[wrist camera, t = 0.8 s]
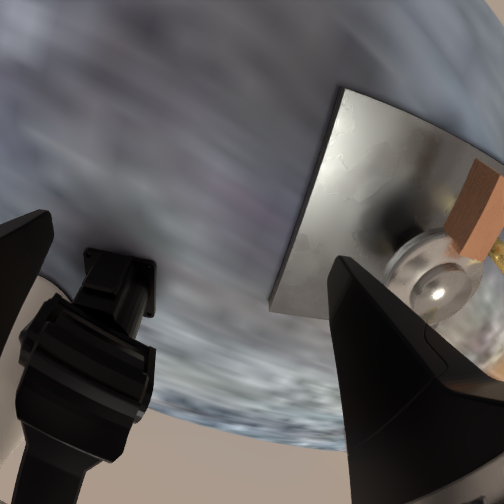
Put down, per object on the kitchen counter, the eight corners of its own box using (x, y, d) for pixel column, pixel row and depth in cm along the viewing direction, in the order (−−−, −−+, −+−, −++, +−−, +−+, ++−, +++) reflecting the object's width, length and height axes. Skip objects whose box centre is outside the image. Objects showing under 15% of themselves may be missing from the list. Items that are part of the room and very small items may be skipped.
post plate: (429, 322, 29) (450, 371, 23) (268, 301, 27) (270, 364, 21) (517, 174, 19) (563, 212, 13) (340, 86, 16) (378, 102, 11)
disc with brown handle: (438, 317, 21) (450, 341, 19) (361, 308, 20) (370, 335, 18) (518, 184, 14) (540, 202, 12) (444, 141, 13) (470, 157, 11)
